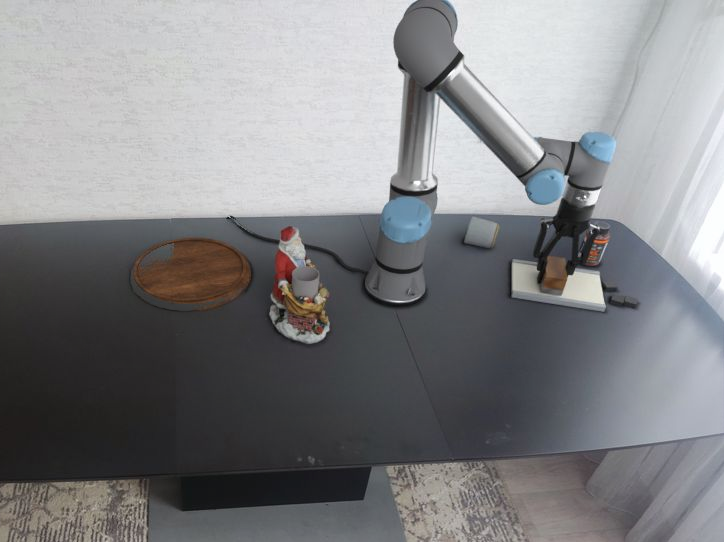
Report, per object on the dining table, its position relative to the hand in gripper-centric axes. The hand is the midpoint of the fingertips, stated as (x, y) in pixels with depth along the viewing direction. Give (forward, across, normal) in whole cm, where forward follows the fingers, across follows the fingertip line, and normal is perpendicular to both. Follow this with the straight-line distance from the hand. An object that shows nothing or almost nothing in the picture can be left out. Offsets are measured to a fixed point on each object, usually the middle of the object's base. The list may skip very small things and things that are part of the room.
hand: (550, 282), depth 169 cm
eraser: (0, 0, 0) cm, 0 cm away
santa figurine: (+2, -58, -33) cm, 67 cm away
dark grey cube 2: (+2, +15, +4) cm, 15 cm away
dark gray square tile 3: (+2, +19, -2) cm, 19 cm away
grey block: (+2, +16, -2) cm, 16 cm away
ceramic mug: (+2, -18, +18) cm, 26 cm away
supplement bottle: (+2, +11, +16) cm, 19 cm away
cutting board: (+1, -91, -20) cm, 93 cm away
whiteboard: (+2, +2, +1) cm, 3 cm away
